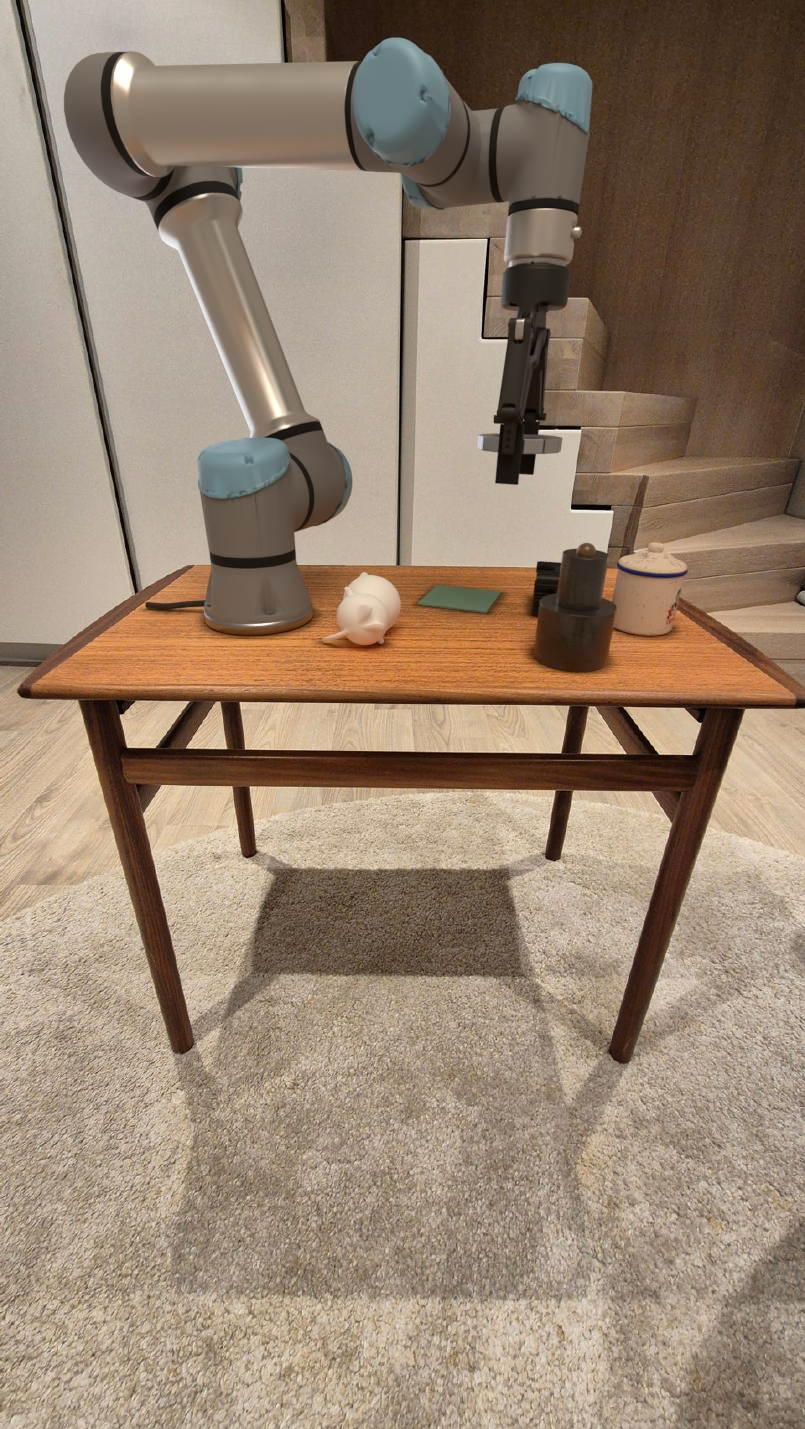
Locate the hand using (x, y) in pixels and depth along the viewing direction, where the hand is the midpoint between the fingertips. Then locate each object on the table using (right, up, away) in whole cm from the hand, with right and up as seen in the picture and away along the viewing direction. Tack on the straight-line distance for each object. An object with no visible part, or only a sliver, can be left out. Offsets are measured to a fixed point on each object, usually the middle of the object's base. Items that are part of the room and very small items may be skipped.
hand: (515, 478), depth 77 cm
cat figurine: (-20, -20, +3) cm, 29 cm away
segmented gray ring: (0, +3, -2) cm, 3 cm away
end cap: (+9, -14, +15) cm, 23 cm away
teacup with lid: (+20, -17, +10) cm, 28 cm away
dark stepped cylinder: (+6, -23, -2) cm, 24 cm away
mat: (-5, -12, +19) cm, 23 cm away
